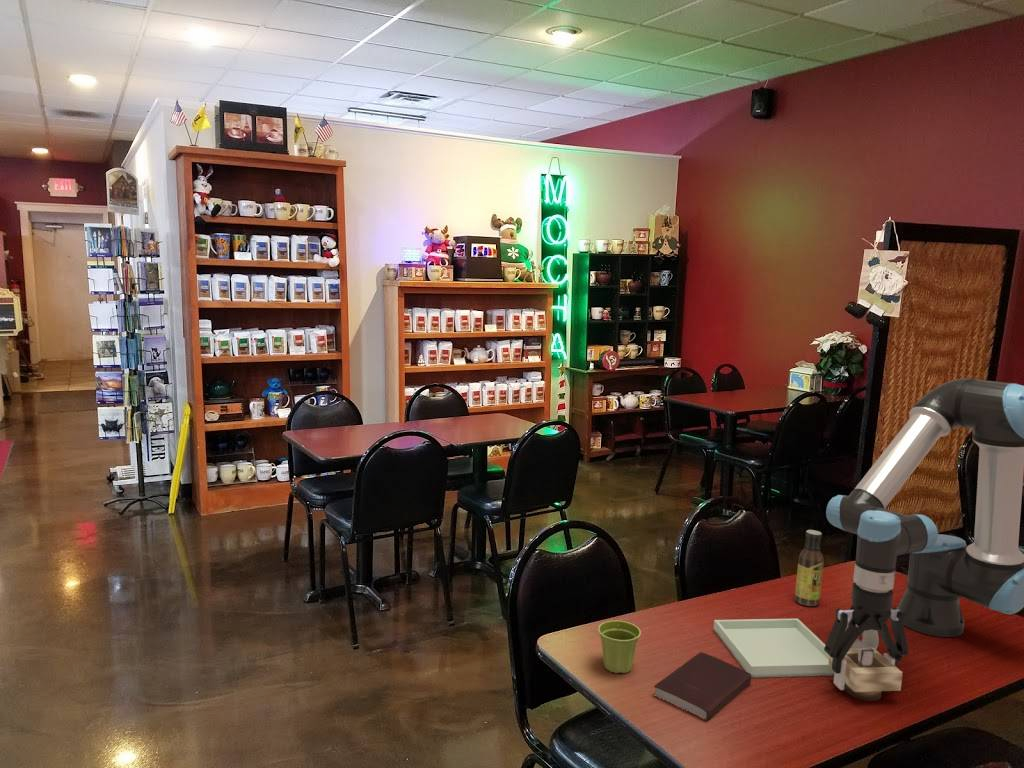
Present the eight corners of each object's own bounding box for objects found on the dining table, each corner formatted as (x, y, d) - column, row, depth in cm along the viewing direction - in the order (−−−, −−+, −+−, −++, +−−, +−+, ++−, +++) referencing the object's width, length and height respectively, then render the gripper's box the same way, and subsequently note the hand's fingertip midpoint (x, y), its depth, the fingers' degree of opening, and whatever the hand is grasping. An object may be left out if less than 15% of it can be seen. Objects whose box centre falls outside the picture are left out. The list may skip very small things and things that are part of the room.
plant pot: (587, 667, 157) (589, 630, 156) (610, 651, 164) (612, 616, 163) (624, 683, 151) (626, 645, 150) (646, 666, 158) (648, 629, 157)
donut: (880, 663, 162) (884, 622, 161) (868, 665, 161) (872, 624, 160) (846, 642, 172) (850, 603, 170) (835, 644, 171) (839, 605, 169)
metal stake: (868, 681, 155) (872, 640, 154) (888, 700, 148) (893, 657, 146) (836, 682, 154) (840, 640, 153) (855, 701, 147) (860, 658, 146)
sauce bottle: (813, 610, 189) (820, 538, 186) (790, 602, 193) (796, 531, 190) (823, 602, 193) (829, 532, 191) (800, 595, 198) (806, 526, 195)
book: (751, 686, 152) (752, 672, 152) (707, 724, 139) (707, 709, 138) (698, 664, 161) (699, 650, 161) (651, 698, 147) (652, 683, 147)
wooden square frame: (871, 664, 156) (873, 647, 155) (900, 690, 146) (902, 672, 146) (828, 665, 155) (830, 648, 154) (854, 691, 145) (856, 673, 145)
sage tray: (796, 628, 178) (797, 618, 178) (844, 675, 157) (845, 664, 157) (713, 629, 176) (714, 620, 176) (750, 677, 155) (751, 666, 155)
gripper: (831, 594, 143) (821, 697, 146) (936, 592, 145) (924, 694, 148) (811, 579, 150) (802, 677, 153) (912, 577, 152) (901, 674, 156)
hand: (862, 685), depth 151 cm, fingers closed on wooden square frame, 10 cm apart
